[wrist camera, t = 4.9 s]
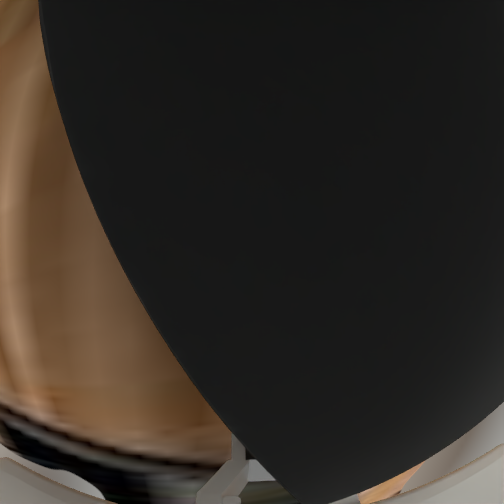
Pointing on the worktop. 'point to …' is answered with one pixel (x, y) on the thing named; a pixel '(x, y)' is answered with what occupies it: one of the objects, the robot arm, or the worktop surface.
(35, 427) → the worktop surface
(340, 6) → the black stepped block
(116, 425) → the worktop surface
